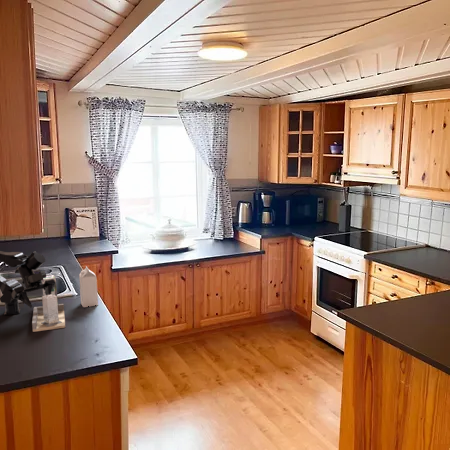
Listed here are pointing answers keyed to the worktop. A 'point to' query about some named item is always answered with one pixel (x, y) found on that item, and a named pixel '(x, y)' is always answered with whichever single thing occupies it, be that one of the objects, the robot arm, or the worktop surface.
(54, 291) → the syrup box
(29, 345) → the worktop surface
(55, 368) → the worktop surface
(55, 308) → the aluminium post
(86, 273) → the milk carton
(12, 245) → the worktop surface
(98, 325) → the worktop surface
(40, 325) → the corner arena
